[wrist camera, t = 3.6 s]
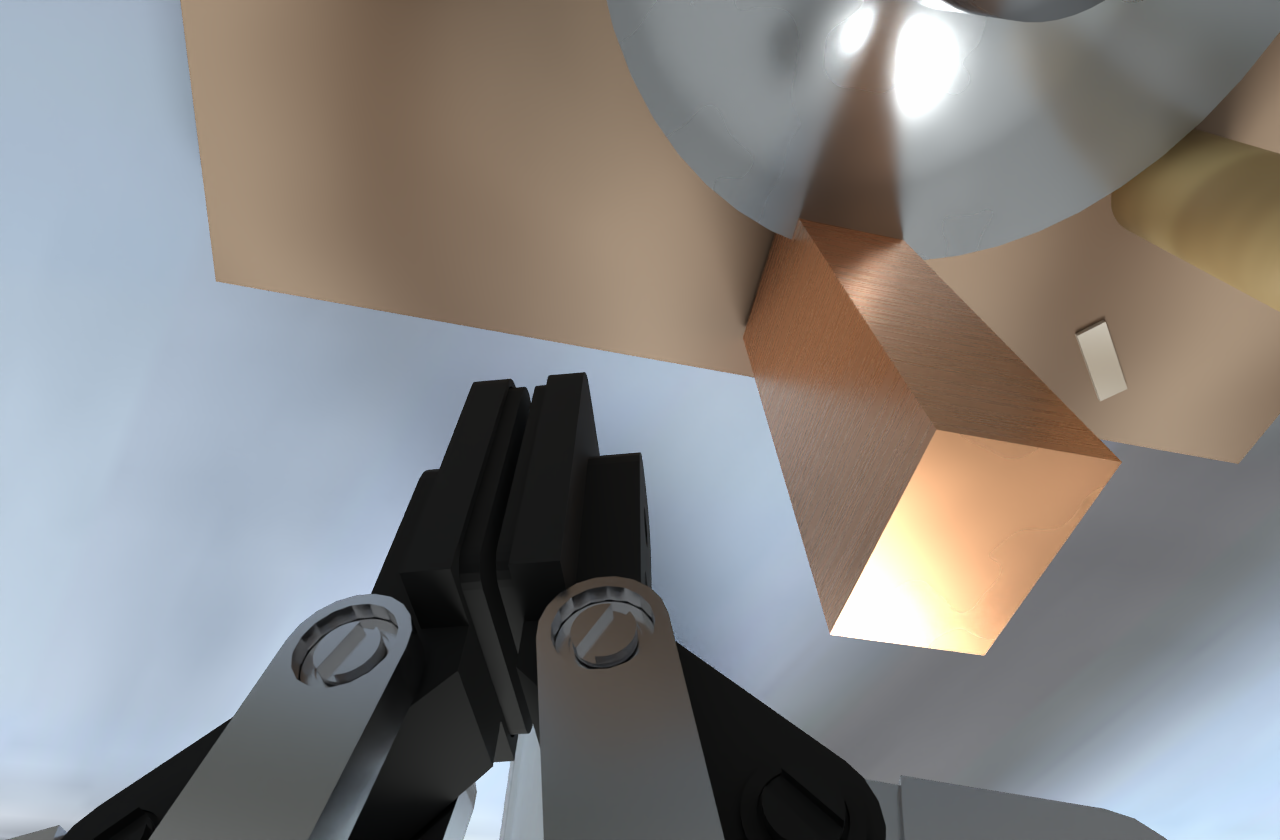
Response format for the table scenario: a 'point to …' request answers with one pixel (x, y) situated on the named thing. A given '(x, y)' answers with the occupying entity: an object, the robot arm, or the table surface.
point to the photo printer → (524, 793)
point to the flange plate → (922, 257)
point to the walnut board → (689, 211)
